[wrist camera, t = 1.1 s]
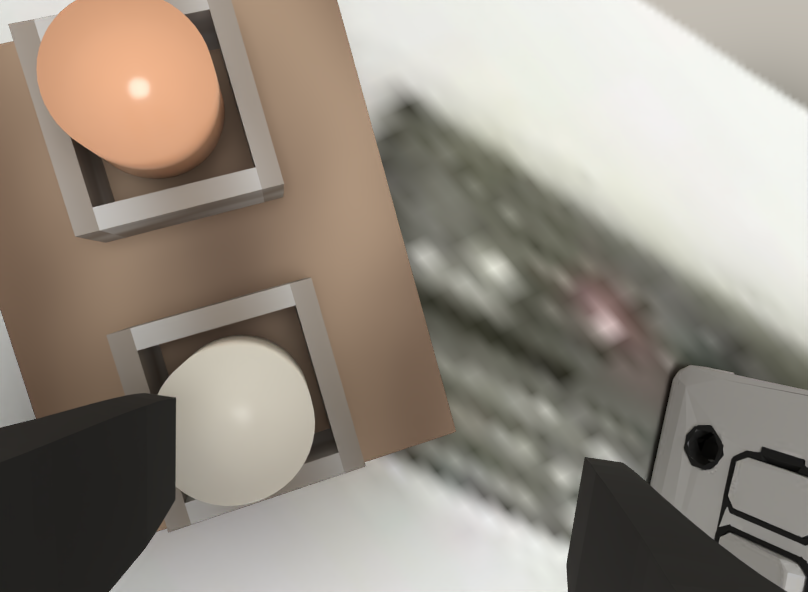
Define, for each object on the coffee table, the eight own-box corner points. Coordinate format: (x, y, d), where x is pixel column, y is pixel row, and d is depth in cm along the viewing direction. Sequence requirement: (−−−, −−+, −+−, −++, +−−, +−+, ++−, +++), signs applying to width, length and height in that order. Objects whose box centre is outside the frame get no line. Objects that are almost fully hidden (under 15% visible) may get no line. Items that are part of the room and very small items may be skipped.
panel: (90, 543, 21) (46, 605, 17) (-63, 71, 20) (-149, 19, 16) (448, 425, 23) (483, 455, 19) (328, -9, 22) (339, -73, 18)
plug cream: (193, 486, 18) (176, 528, 15) (153, 357, 17) (128, 373, 14) (324, 443, 18) (333, 475, 15) (287, 318, 18) (289, 326, 15)
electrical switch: (671, 358, 24) (934, 413, 16) (780, 383, 26) (1077, 446, 17) (615, 607, 24) (848, 807, 15) (728, 618, 26) (1000, 806, 17)
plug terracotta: (102, 193, 17) (66, 176, 14) (60, 55, 17) (13, 7, 14) (241, 160, 18) (233, 136, 15) (202, 25, 17) (186, -26, 14)
